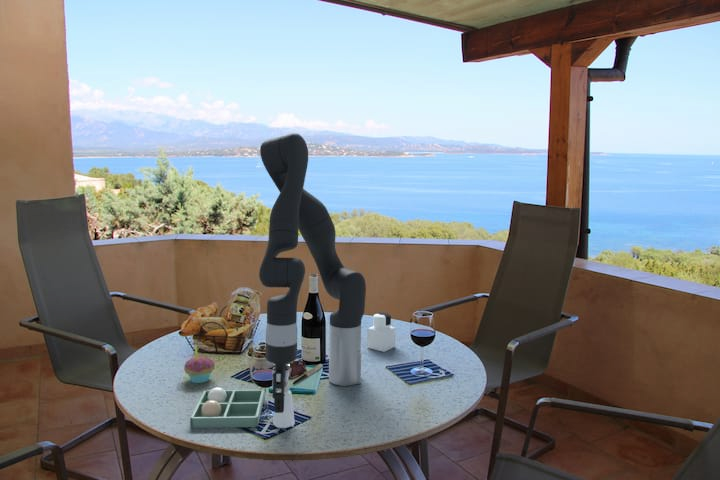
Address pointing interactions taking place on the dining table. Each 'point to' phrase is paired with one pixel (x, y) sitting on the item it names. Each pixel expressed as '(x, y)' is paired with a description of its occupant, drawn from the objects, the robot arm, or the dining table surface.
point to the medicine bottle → (381, 333)
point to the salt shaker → (285, 411)
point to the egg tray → (231, 410)
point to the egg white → (217, 395)
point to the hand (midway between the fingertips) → (280, 404)
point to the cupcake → (199, 368)
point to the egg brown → (211, 409)
